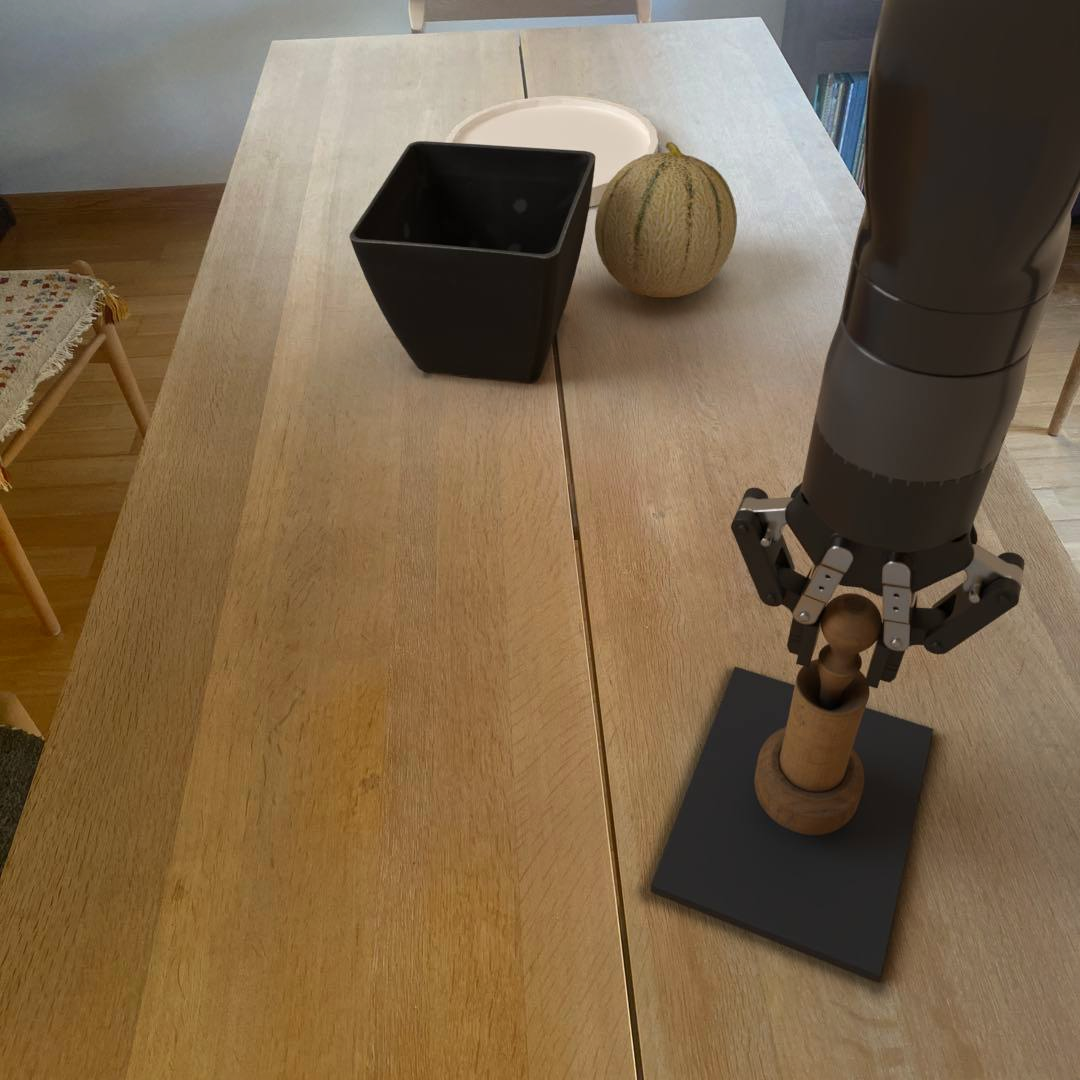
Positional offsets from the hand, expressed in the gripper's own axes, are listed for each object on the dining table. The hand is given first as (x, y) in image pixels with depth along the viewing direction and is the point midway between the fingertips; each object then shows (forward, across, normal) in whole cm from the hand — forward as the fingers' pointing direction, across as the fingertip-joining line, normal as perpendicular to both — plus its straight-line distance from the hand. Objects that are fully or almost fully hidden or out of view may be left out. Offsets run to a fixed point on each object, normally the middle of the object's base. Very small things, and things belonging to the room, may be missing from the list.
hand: (840, 663), depth 54 cm
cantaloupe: (+16, -29, +56) cm, 65 cm away
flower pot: (+16, -42, +40) cm, 60 cm away
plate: (+16, -53, +80) cm, 98 cm away
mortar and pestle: (+13, 0, 0) cm, 13 cm away
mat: (+16, 0, 0) cm, 16 cm away
